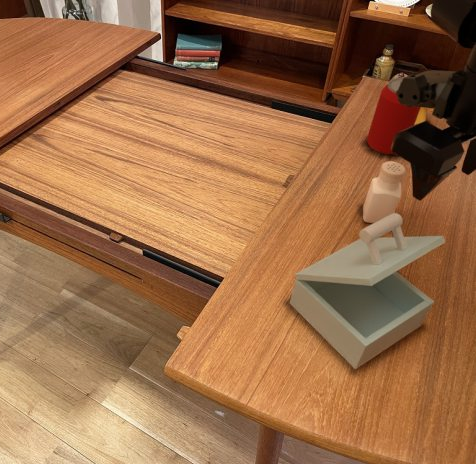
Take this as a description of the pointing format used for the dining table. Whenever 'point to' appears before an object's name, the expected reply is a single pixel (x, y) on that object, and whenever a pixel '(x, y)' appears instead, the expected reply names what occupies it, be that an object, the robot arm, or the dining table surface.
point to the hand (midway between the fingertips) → (441, 185)
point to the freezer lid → (371, 255)
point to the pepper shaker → (384, 192)
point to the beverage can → (390, 118)
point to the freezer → (361, 314)
